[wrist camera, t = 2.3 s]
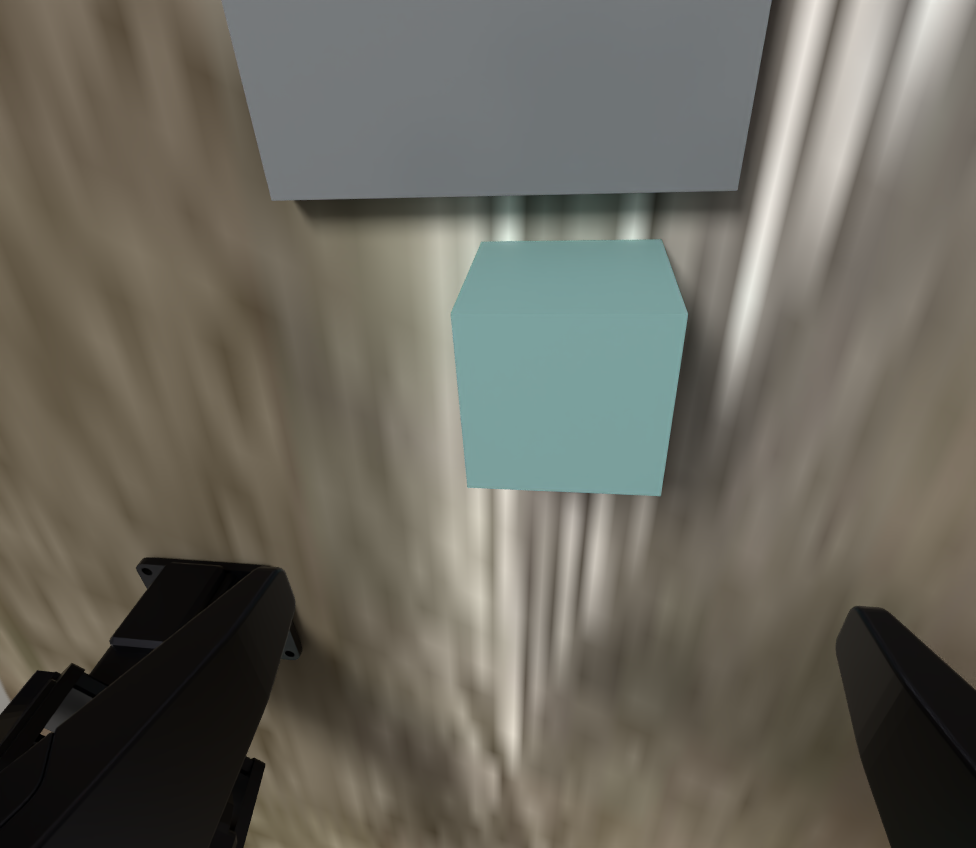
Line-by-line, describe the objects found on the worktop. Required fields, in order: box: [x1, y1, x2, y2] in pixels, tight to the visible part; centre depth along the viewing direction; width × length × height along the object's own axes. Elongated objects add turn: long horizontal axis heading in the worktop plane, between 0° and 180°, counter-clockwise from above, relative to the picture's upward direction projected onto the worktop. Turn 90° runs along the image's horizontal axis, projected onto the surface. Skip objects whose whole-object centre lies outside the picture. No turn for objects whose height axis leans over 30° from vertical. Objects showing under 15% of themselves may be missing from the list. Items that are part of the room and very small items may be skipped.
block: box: [451, 239, 688, 496], centre depth 16 cm, size 5×5×5 cm
